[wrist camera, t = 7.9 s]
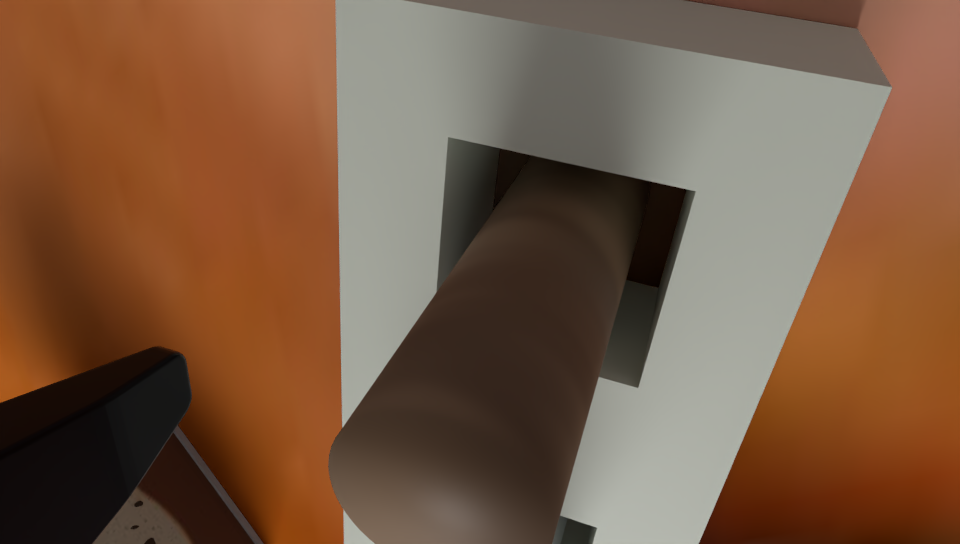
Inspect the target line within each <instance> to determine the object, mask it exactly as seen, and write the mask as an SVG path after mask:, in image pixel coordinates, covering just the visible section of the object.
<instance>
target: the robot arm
mask: <svg viewBox="0 0 960 544" xmlns="http://www.w3.org/2000/svg"><path fill="white" fill-rule="evenodd" d="M191 397H192V392H191V386H190V380H189V374H188V368H187V363H186V359H185V357H184V356H183V354H181V353H179V352H176V351H173V350H170V349H167V348H164V347H152V348H149V349H146V350H143V351H141V352H138V353H135V354H132V355H130V356H127V357H124V358H122V359H119V360H116V361H113V362H111V363H108V364H105V365H102V366H100V367H97V368H94V369H91V370H89V371H86V372H83V373H81V374H78V375H75V376H72V377H70V378H67V379H64V380H61V381H59V382H56V383H53V384H51V385H48V386H45V387H42V388H40V389H37V390H34V391H31V392H29V393H26V394H23V395H21V396H18V397H15V398H12V399H10V400H7V401H4V402H1V403H0V544H93V542H94V541H95V540H96V539H97V538H98V536H99V535H100V534H101V533H102V531H103V530H104V529H105V528H106V526H107V525H108V524H109V523H110V521H111V520H112V519H113V518H114V517H115V515H116V514H117V513H118V512H119V510H120V509H121V508H122V506H123V505H124V504H125V502H126V501H127V500H128V499H129V497H130V496H131V494H132V493H133V492H134V490H135V489H136V487H137V486H138V485H139V483H140V482H141V480H142V479H143V477H144V476H145V474H146V473H147V471H148V470H149V468H150V466H151V465H152V463H153V462H154V460H155V459H156V457H157V456H158V454H159V453H160V451H161V450H162V448H163V447H164V445H165V444H166V442H167V441H168V439H169V438H170V436H171V435H172V433H173V432H174V430H175V429H176V427H177V426H178V424H179V422H180V421H181V419H182V418H183V416H184V415H185V413H186V412H187V410H188V408H189V406H190V402H191Z"/></svg>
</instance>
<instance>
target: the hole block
mask: <svg viewBox="0 0 960 544" xmlns="http://www.w3.org/2000/svg"><path fill="white" fill-rule="evenodd" d="M336 58H337V122H338V187H339V251H340V316H341V380H342V428H343V426H344V425H345V424H346V422H347V421H348V419H349V418H350V416H351V415H352V413H353V412H354V411H355V409H356V408H357V406H358V405H359V403H360V402H361V400H362V399H363V398H364V396H365V395H366V393H367V392H368V390H369V389H370V388H371V386H372V385H373V383H374V382H375V380H376V379H377V377H378V376H379V375H380V373H381V372H382V370H383V369H384V367H385V366H386V364H387V363H388V362H389V360H390V359H391V357H392V356H393V354H394V353H395V352H396V350H397V349H398V347H399V346H400V344H401V343H402V341H403V340H404V339H405V337H406V336H407V334H408V333H409V331H410V330H411V328H412V327H413V326H414V324H415V323H416V321H417V320H418V318H419V317H420V315H421V314H422V313H423V311H424V310H425V308H426V307H427V305H428V304H429V303H430V301H431V300H432V298H433V297H434V295H435V294H436V292H437V291H438V290H439V288H440V287H441V285H442V284H443V282H444V281H445V279H446V278H447V277H448V275H449V274H450V272H451V271H452V269H453V268H454V267H455V265H456V264H457V262H458V261H459V259H460V258H461V256H462V255H463V254H464V252H465V251H466V249H467V248H468V246H469V245H470V243H471V242H472V241H473V239H474V238H475V236H476V235H477V233H478V232H479V230H480V229H481V228H482V226H483V225H484V223H485V222H486V220H487V219H488V218H489V216H490V215H491V213H492V211H493V203H494V195H495V186H496V178H497V169H498V161H499V153H500V148H501V149H505V150H510V151H514V152H519V153H523V154H528V155H533V156H537V157H542V158H546V159H551V160H555V161H560V162H564V163H569V164H574V165H578V166H583V167H587V168H592V169H596V170H601V171H605V172H610V173H615V174H619V175H624V176H628V177H633V178H637V179H642V180H646V181H651V182H656V183H660V184H665V185H669V186H674V187H678V188H683V189H686V193H685V197H684V200H683V204H682V207H681V211H680V214H679V218H678V221H677V225H676V228H675V232H674V235H673V239H672V242H671V246H670V249H669V253H668V256H667V260H666V263H665V267H664V270H663V274H662V277H661V281H660V284H659V288H657V287H653V286H649V285H645V284H641V283H637V282H633V281H629V280H626V281H625V285H624V288H623V292H622V296H621V299H620V303H619V306H618V310H617V314H616V317H615V321H614V324H613V328H612V331H611V335H610V339H609V342H608V346H607V349H606V353H605V356H604V360H603V364H602V367H601V371H600V374H599V378H598V381H597V385H596V389H595V392H594V396H593V399H592V403H591V406H590V410H589V414H588V417H587V421H586V424H585V428H584V431H583V435H582V439H581V442H580V446H579V449H578V453H577V456H576V460H575V464H574V467H573V471H572V474H571V478H570V481H569V485H568V489H567V492H566V496H565V499H564V503H563V506H562V510H561V514H560V516H563V517H566V518H568V519H567V522H566V526H565V530H564V534H563V537H562V541H561V544H699V542H700V539H701V537H702V535H703V532H704V530H705V527H706V525H707V523H708V520H709V518H710V516H711V513H712V511H713V509H714V506H715V504H716V502H717V499H718V497H719V494H720V492H721V490H722V487H723V485H724V483H725V480H726V478H727V476H728V473H729V471H730V469H731V466H732V464H733V461H734V459H735V457H736V454H737V452H738V450H739V447H740V445H741V443H742V440H743V438H744V436H745V433H746V431H747V428H748V426H749V424H750V421H751V419H752V417H753V414H754V412H755V410H756V407H757V405H758V403H759V400H760V398H761V395H762V393H763V391H764V388H765V386H766V384H767V381H768V379H769V377H770V374H771V372H772V370H773V367H774V365H775V362H776V360H777V358H778V355H779V353H780V351H781V348H782V346H783V344H784V341H785V339H786V337H787V334H788V332H789V329H790V327H791V325H792V322H793V320H794V318H795V315H796V313H797V311H798V308H799V306H800V304H801V301H802V299H803V296H804V294H805V292H806V289H807V287H808V285H809V282H810V280H811V278H812V275H813V273H814V271H815V268H816V266H817V263H818V261H819V259H820V256H821V254H822V252H823V249H824V247H825V245H826V242H827V240H828V238H829V235H830V233H831V230H832V228H833V226H834V223H835V221H836V219H837V216H838V214H839V212H840V209H841V207H842V205H843V202H844V200H845V197H846V195H847V193H848V190H849V188H850V186H851V183H852V181H853V179H854V176H855V174H856V171H857V169H858V167H859V164H860V162H861V160H862V157H863V155H864V153H865V150H866V148H867V146H868V143H869V141H870V138H871V136H872V134H873V131H874V129H875V127H876V124H877V122H878V120H879V117H880V115H881V113H882V110H883V108H884V105H885V103H886V101H887V98H888V96H889V94H890V91H891V89H892V86H891V85H890V83H889V81H888V80H887V78H886V76H885V74H884V73H883V71H882V69H881V68H880V66H879V64H878V63H877V61H876V59H875V57H874V56H873V54H872V52H871V51H870V49H869V47H868V46H867V44H866V42H865V40H864V39H863V37H862V35H861V34H860V32H859V30H858V29H856V28H850V27H844V26H838V25H832V24H825V23H819V22H813V21H807V20H801V19H795V18H789V17H783V16H777V15H770V14H764V13H758V12H752V11H746V10H740V9H734V8H728V7H722V6H715V5H709V4H703V3H697V2H691V1H685V0H336ZM344 544H375V543H374V542H372V541H371V540H370V539H369V538H368V537H367V536H366V535H365V534H364V533H362V532H361V531H360V530H359V529H358V527H357V526H356V525H355V524H354V523H353V522H352V520H351V519H350V518H349V516H348V515H347V514H346V512H345V511H344Z"/></svg>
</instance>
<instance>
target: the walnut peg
mask: <svg viewBox="0 0 960 544" xmlns="http://www.w3.org/2000/svg"><path fill="white" fill-rule="evenodd" d="M649 192H650V183H649V181H646V180H642V179H637V178H633V177H628V176H624V175H619V174H615V173H610V172H605V171H601V170H596V169H592V168H587V167H583V166H578V165H574V164H569V163H564V162H560V161H555V160H551V159H546V158H542V157H537V156H533V155H532V156H531V157H530V158H529V160H528V161H527V163H526V164H525V166H524V167H523V169H522V170H521V171H520V173H519V174H518V176H517V177H516V179H515V180H514V181H513V183H512V184H511V186H510V187H509V189H508V190H507V192H506V193H505V194H504V196H503V197H502V199H501V200H500V202H499V203H498V205H497V206H496V207H495V209H494V210H493V212H492V213H491V215H490V216H489V218H488V219H487V220H486V222H485V223H484V225H483V226H482V228H481V229H480V230H479V232H478V233H477V235H476V236H475V238H474V239H473V241H472V242H471V243H470V245H469V246H468V248H467V249H466V251H465V252H464V254H463V255H462V256H461V258H460V259H459V261H458V262H457V264H456V265H455V267H454V268H453V269H452V271H451V272H450V274H449V275H448V277H447V278H446V279H445V281H444V282H443V284H442V285H441V287H440V288H439V290H438V291H437V292H436V294H435V295H434V297H433V298H432V300H431V301H430V303H429V304H428V305H427V307H426V308H425V310H424V311H423V313H422V314H421V315H420V317H419V318H418V320H417V321H416V323H415V324H414V326H413V327H412V328H411V330H410V331H409V333H408V334H407V336H406V337H405V339H404V340H403V341H402V343H401V344H400V346H399V347H398V349H397V350H396V352H395V353H394V354H393V356H392V357H391V359H390V360H389V362H388V363H387V364H386V366H385V367H384V369H383V370H382V372H381V373H380V375H379V376H378V377H377V379H376V380H375V382H374V383H373V385H372V386H371V388H370V389H369V390H368V392H367V393H366V395H365V396H364V398H363V399H362V400H361V402H360V403H359V405H358V406H357V408H356V409H355V411H354V412H353V413H352V415H351V416H350V418H349V419H348V421H347V422H346V424H345V425H344V426H343V428H342V429H341V431H340V432H339V434H338V435H337V437H336V438H335V440H334V442H333V444H332V446H331V450H330V454H329V466H328V467H329V475H330V480H331V484H332V487H333V490H334V492H335V495H336V497H337V499H338V501H339V503H340V504H341V506H342V508H343V509H344V511H345V512H346V514H347V515H348V516H349V518H350V519H351V520H352V522H353V523H354V524H355V525H356V526H357V527H358V529H359V530H360V531H361V532H362V533H364V534H365V535H366V536H367V537H368V538H369V539H370V540H371V541H372V542H374V543H375V544H552V542H553V539H554V535H555V531H556V528H557V524H558V521H559V517H560V514H561V510H562V506H563V503H564V499H565V496H566V492H567V489H568V485H569V481H570V478H571V474H572V471H573V467H574V464H575V460H576V456H577V453H578V449H579V446H580V442H581V439H582V435H583V431H584V428H585V424H586V421H587V417H588V414H589V410H590V406H591V403H592V399H593V396H594V392H595V389H596V385H597V381H598V378H599V374H600V371H601V367H602V364H603V360H604V356H605V353H606V349H607V346H608V342H609V339H610V335H611V331H612V328H613V324H614V321H615V317H616V314H617V310H618V306H619V303H620V299H621V296H622V292H623V288H624V285H625V281H626V278H627V274H628V271H629V267H630V263H631V260H632V256H633V253H634V249H635V246H636V242H637V238H638V235H639V231H640V228H641V224H642V221H643V217H644V213H645V210H646V206H647V203H648V198H649Z"/></svg>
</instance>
